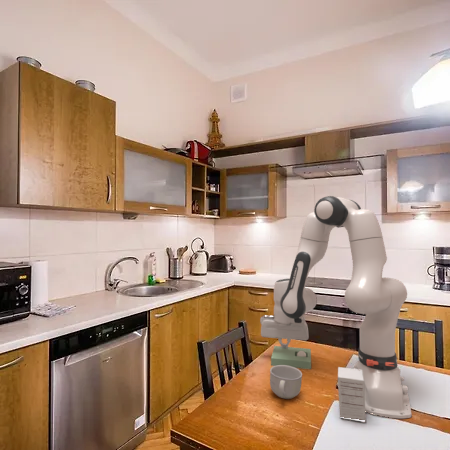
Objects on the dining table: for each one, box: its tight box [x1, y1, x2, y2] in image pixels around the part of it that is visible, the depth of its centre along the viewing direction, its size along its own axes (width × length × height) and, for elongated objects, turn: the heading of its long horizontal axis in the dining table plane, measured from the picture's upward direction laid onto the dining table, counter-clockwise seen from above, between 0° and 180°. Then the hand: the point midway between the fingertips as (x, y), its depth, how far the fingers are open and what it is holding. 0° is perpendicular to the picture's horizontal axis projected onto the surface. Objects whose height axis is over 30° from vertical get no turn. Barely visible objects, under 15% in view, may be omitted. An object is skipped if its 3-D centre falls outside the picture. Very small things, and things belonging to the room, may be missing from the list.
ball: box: [297, 351, 307, 357], centre depth 137 cm, size 4×4×4 cm
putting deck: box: [270, 345, 312, 370], centre depth 138 cm, size 14×16×3 cm
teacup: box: [269, 365, 303, 400], centre depth 109 cm, size 14×11×8 cm
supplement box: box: [337, 366, 367, 422], centre depth 98 cm, size 7×7×13 cm
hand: (284, 348), depth 138 cm, fingers closed
